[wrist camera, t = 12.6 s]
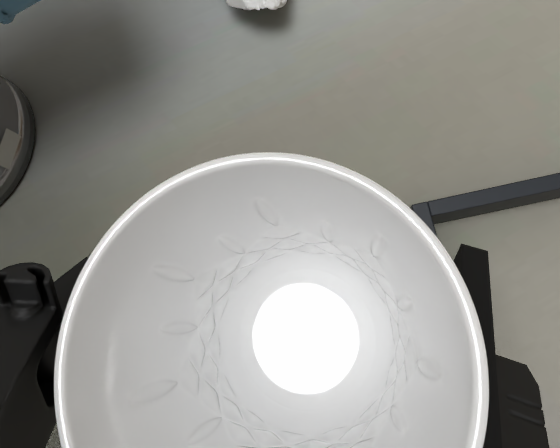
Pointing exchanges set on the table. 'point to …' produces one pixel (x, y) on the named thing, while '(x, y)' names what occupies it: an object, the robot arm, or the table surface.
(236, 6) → the white tapered cylinder
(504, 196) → the dark grey square frame
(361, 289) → the white cup
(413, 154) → the table surface
